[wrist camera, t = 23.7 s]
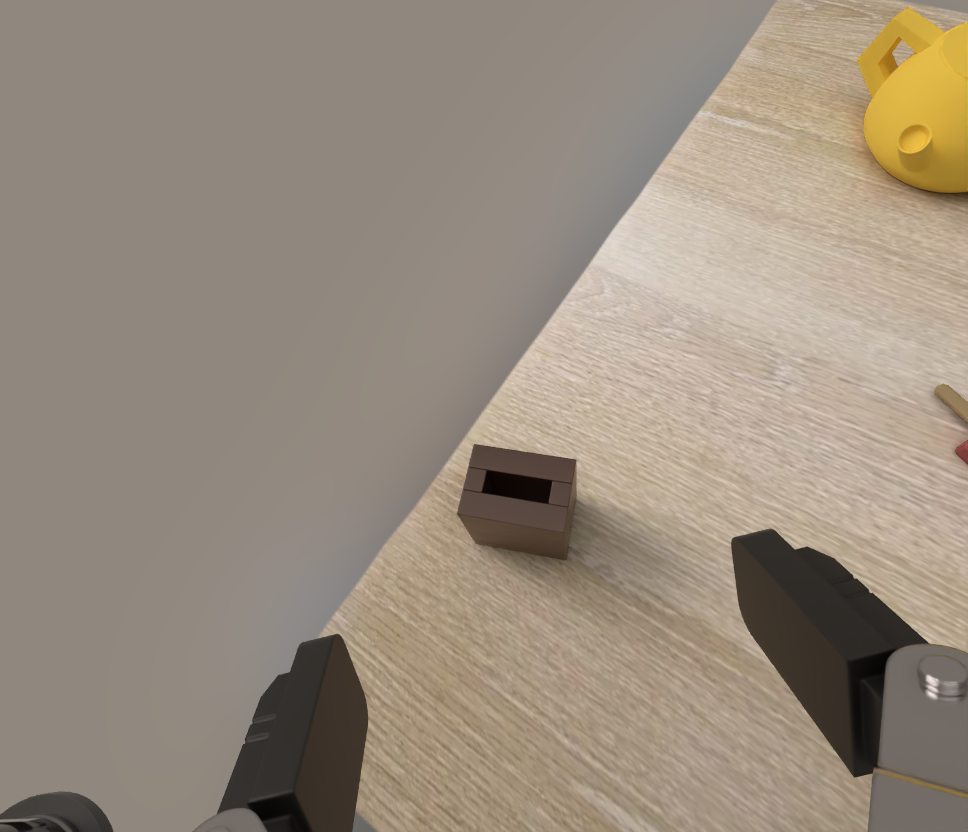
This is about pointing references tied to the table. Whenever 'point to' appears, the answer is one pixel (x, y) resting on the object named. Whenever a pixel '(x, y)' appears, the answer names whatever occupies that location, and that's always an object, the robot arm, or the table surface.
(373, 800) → the table surface
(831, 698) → the robot arm
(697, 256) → the table surface
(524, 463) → the knife block
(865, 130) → the teapot
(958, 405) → the popsicle
